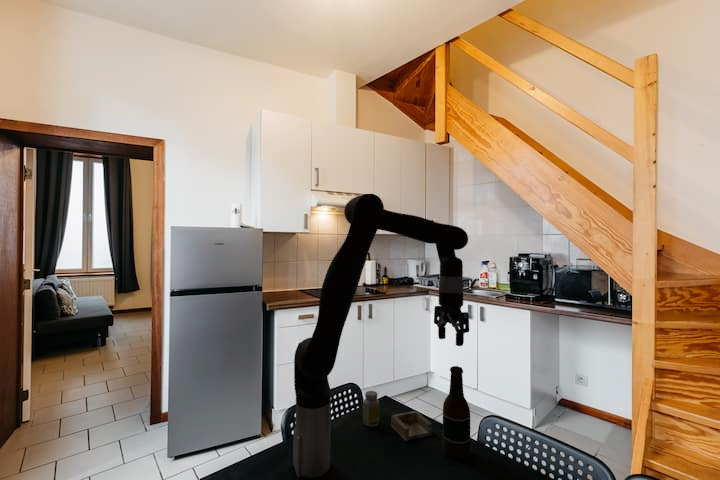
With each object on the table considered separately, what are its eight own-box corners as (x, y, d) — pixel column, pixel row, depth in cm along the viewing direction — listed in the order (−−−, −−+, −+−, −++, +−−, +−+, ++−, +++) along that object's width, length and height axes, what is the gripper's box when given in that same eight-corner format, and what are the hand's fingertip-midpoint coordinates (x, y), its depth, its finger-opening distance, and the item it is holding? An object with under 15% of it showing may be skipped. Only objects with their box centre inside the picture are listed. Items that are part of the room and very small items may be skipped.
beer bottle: (439, 455, 98) (439, 369, 99) (445, 441, 105) (446, 361, 106) (467, 463, 95) (467, 374, 95) (472, 449, 101) (472, 365, 102)
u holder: (405, 440, 105) (405, 429, 105) (391, 426, 114) (391, 415, 114) (431, 435, 109) (432, 423, 109) (416, 421, 118) (416, 410, 118)
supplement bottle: (382, 421, 117) (382, 392, 117) (374, 428, 112) (374, 398, 113) (368, 417, 120) (368, 388, 120) (359, 424, 115) (360, 394, 115)
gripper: (427, 288, 116) (427, 337, 115) (456, 293, 103) (455, 349, 102) (446, 287, 119) (445, 335, 118) (476, 292, 106) (475, 346, 105)
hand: (450, 342), depth 110 cm, fingers open, 8 cm apart
